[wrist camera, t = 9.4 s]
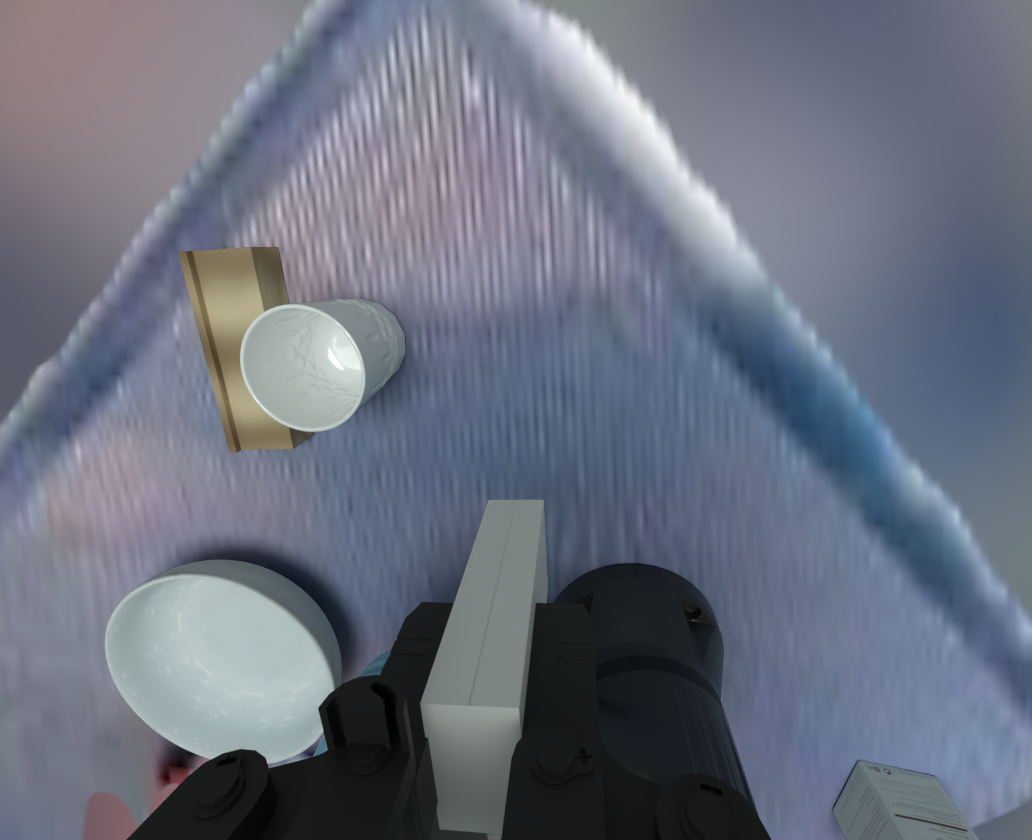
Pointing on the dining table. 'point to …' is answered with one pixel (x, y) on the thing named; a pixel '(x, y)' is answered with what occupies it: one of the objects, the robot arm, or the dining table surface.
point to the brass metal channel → (237, 335)
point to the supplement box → (897, 807)
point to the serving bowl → (225, 659)
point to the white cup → (320, 360)
